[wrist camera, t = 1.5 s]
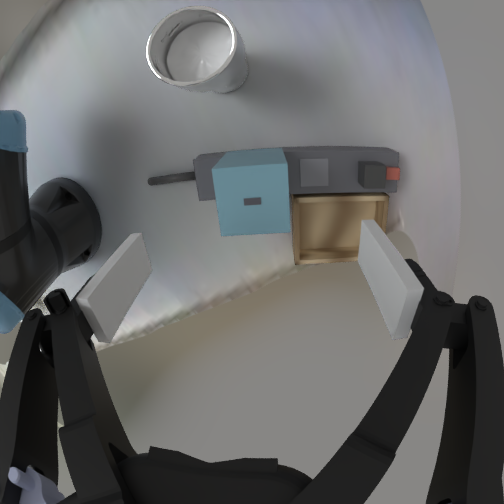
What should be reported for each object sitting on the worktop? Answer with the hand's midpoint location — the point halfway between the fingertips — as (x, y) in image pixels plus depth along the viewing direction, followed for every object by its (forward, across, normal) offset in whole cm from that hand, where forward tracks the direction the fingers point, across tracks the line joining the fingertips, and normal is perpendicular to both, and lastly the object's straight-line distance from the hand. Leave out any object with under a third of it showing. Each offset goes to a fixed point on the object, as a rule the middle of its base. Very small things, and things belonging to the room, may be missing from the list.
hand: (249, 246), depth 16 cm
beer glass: (+20, -3, +13) cm, 24 cm away
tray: (+20, +10, -7) cm, 24 cm away
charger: (+19, 0, 0) cm, 19 cm away
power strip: (+20, +1, 0) cm, 20 cm away
